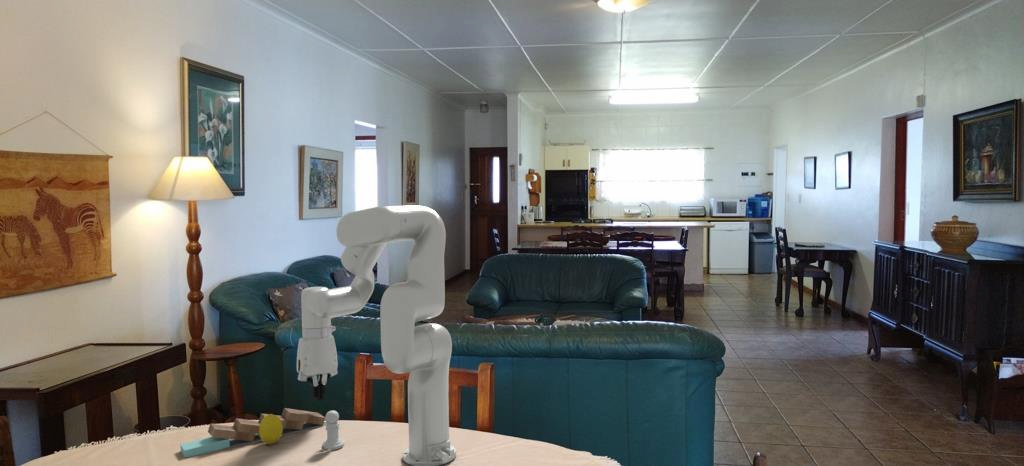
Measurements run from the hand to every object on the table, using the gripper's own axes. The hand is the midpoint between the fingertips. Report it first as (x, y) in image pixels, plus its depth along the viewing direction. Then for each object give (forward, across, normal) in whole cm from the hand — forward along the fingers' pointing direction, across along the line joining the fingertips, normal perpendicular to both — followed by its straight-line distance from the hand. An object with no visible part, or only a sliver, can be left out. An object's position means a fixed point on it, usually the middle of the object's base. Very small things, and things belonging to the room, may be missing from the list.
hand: (318, 398), depth 175 cm
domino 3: (+6, +6, 0) cm, 8 cm away
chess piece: (+7, +4, +18) cm, 20 cm away
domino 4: (+6, 0, 0) cm, 6 cm away
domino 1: (+6, +18, 0) cm, 19 cm away
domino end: (+6, +24, 0) cm, 25 cm away
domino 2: (+6, +12, 0) cm, 13 cm away
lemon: (+7, +15, +7) cm, 18 cm away
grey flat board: (+7, +11, 0) cm, 13 cm away
